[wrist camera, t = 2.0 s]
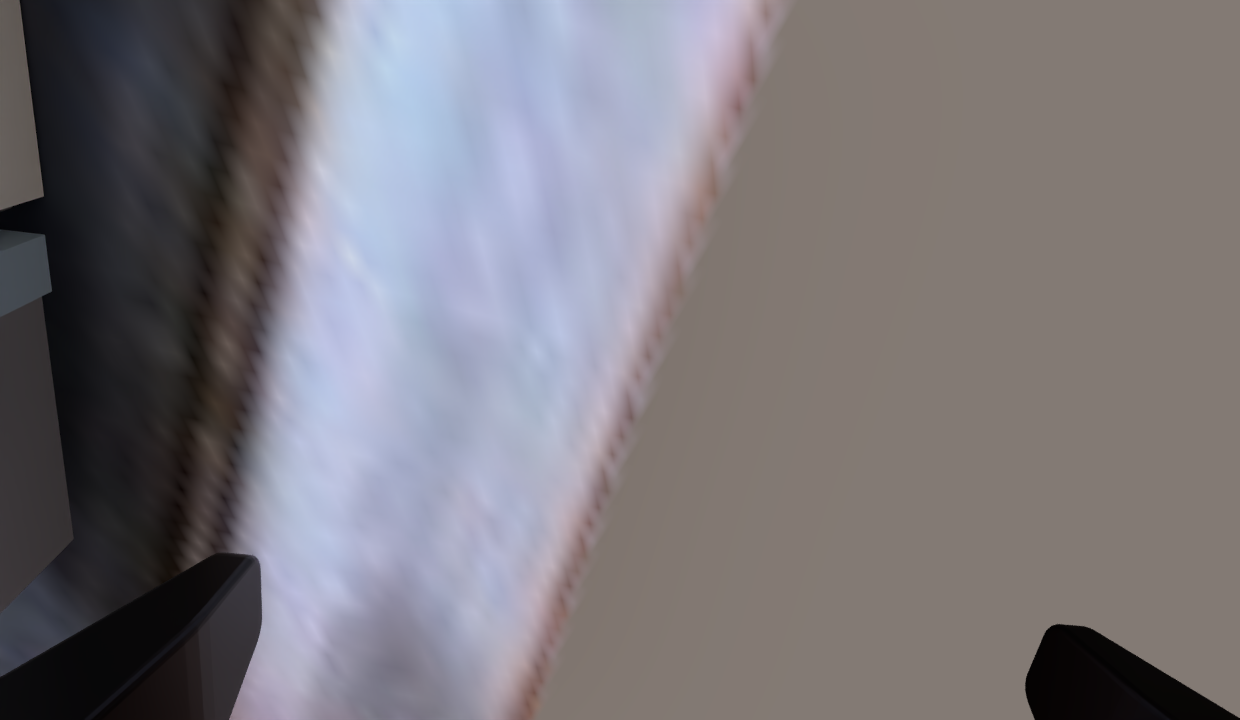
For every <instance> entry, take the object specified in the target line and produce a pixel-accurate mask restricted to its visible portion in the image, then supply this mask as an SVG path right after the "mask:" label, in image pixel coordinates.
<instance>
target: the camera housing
mask: <svg viewBox="0 0 1240 720" xmlns="http://www.w3.org/2000/svg"><path fill="white" fill-rule="evenodd" d="M40 197H44V192H43V184H42V176H41V168H40V160H39V152H38V144H37V136H36V128H35V120H34V112H33V104H32V96H31V88H30V80H29V72H28V64H27V56H26V48H25V40H24V32H23V24H22V16H21V8H20V0H0V212H2V211H5V210H8V209H11V208H12V206H15V205H18V204H21V203H24V202H28V201H31V200H34V199H37V198H40Z"/></svg>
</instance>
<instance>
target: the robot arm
mask: <svg viewBox="0 0 1240 720" xmlns="http://www.w3.org/2000/svg"><path fill="white" fill-rule="evenodd" d="M261 623H262V598H261V568H260V563H259V560H258V559H257V558H256V557H255V556H253V555H247V554H235V553H216V554H214V555H212V556H210V557H208V558H206V559H205V560H203V561H201V562H199V563H198V564H196V565H194V566H193V567H191V568H189V569H187V570H186V571H184V572H182V573H180V574H179V575H177V576H175V577H173V578H172V579H170V580H168V581H166V582H165V583H163V584H161V585H160V586H158V587H156V588H154V589H153V590H151V591H149V592H147V593H146V594H144V595H142V596H140V597H139V598H137V599H135V600H133V601H132V602H130V603H128V604H127V605H125V606H123V607H121V608H120V609H118V610H116V611H114V612H113V613H111V614H109V615H107V616H106V617H104V618H102V619H100V620H99V621H97V622H95V623H94V624H92V625H90V626H88V627H87V628H85V629H83V630H81V631H80V632H78V633H76V634H74V635H73V636H71V637H69V638H67V639H66V640H64V641H62V642H61V643H59V644H57V645H55V646H54V647H52V648H50V649H48V650H47V651H45V652H43V653H41V654H40V655H38V656H36V657H34V658H33V659H31V660H29V661H28V662H26V663H24V664H22V665H21V666H19V667H17V668H15V669H14V670H12V671H10V672H8V673H7V674H5V675H3V676H1V677H0V720H229V718H230V716H231V713H232V710H233V707H234V705H235V702H236V699H237V696H238V694H239V691H240V688H241V685H242V683H243V680H244V677H245V674H246V672H247V669H248V666H249V663H250V661H251V658H252V655H253V652H254V650H255V647H256V644H257V641H258V638H259V634H260V630H261ZM1025 691H1026V696H1027V700H1028V703H1029V706H1030V708H1031V711H1032V714H1033V716H1034V719H1035V720H1240V718H1238V717H1237V716H1235V715H1234V714H1232V713H1230V712H1229V711H1227V710H1225V709H1224V708H1222V707H1220V706H1219V705H1217V704H1215V703H1214V702H1212V701H1210V700H1209V699H1207V698H1205V697H1204V696H1202V695H1200V694H1199V693H1197V692H1196V691H1194V690H1192V689H1190V688H1189V687H1187V686H1185V685H1184V684H1182V683H1181V682H1179V681H1177V680H1176V679H1174V678H1172V677H1171V676H1169V675H1167V674H1166V673H1164V672H1162V671H1161V670H1159V669H1157V668H1156V667H1154V666H1152V665H1151V664H1149V663H1148V662H1146V661H1144V660H1143V659H1141V658H1139V657H1138V656H1136V655H1134V654H1133V653H1131V652H1129V651H1128V650H1126V649H1124V648H1123V647H1121V646H1119V645H1118V644H1116V643H1114V642H1113V641H1111V640H1109V639H1108V638H1106V637H1105V636H1103V635H1101V634H1100V633H1098V632H1096V631H1095V630H1093V629H1091V628H1088V627H1084V626H1075V625H1074V626H1073V625H1063V624H1056V625H1053V626H1051V627H1050V628H1049V629H1048V630H1046V632H1045V634H1044V636H1043V638H1042V641H1041V643H1040V646H1039V648H1038V650H1037V653H1036V655H1035V657H1034V660H1033V662H1032V664H1031V667H1030V669H1029V671H1028V674H1027V677H1026V683H1025Z"/></svg>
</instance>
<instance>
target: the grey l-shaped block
mask: <svg viewBox="0 0 1240 720" xmlns="http://www.w3.org/2000/svg"><path fill="white" fill-rule="evenodd" d="M50 292H52V287H51V280H50V272H49V264H48V256H47V248H46V240H45V235H43V234H35V233H26V232H18V231H10V230H1V229H0V613H1V612H2V611H3V610H4V609H5V608H6V607H7V606H8V605H9V604H10V603H11V602H12V601H13V600H14V599H15V598H16V597H17V596H18V595H19V594H20V593H21V592H22V591H23V590H24V589H25V588H26V587H27V586H28V585H29V584H30V583H31V582H32V581H33V580H34V579H35V578H36V577H37V576H38V575H39V574H40V573H41V572H42V571H43V570H44V569H45V568H46V567H47V566H48V565H49V564H50V563H51V562H52V561H53V560H54V559H55V558H56V557H57V556H58V555H59V554H60V553H61V551H62V550H63V549H64V548H65V547H66V546H67V545H68V544H69V543H70V542H71V541H72V540H73V539H74V537H73V529H72V522H71V514H70V507H69V499H68V491H67V484H66V476H65V469H64V461H63V453H62V446H61V438H60V431H59V423H58V416H57V408H56V400H55V393H54V385H53V378H52V370H51V362H50V355H49V347H48V340H47V332H46V325H45V317H44V309H43V302H42V296H44V295H46V294H48V293H50Z"/></svg>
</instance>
